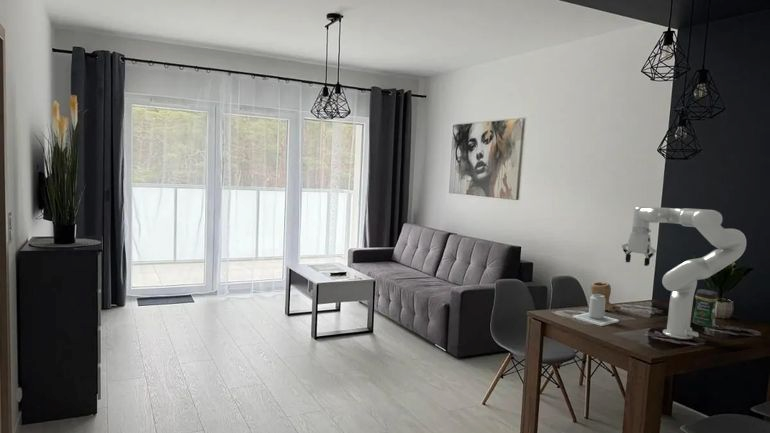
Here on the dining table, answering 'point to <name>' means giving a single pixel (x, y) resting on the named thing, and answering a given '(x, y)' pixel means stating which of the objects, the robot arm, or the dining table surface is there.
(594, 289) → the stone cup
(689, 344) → the dining table surface
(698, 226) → the robot arm
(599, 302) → the can
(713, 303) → the coffee jar
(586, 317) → the trivet
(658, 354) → the dining table surface
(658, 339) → the dining table surface
